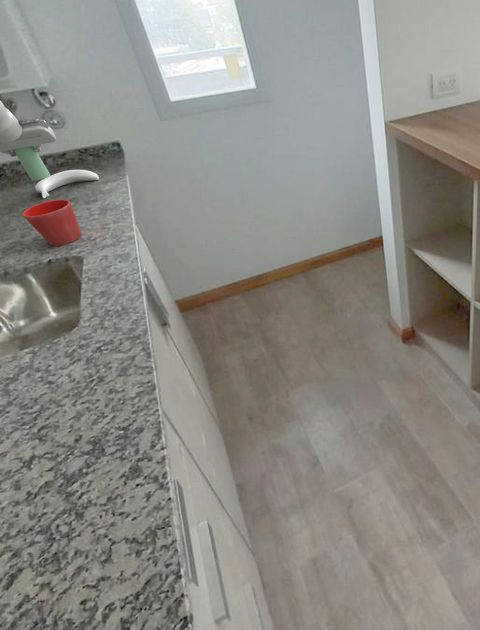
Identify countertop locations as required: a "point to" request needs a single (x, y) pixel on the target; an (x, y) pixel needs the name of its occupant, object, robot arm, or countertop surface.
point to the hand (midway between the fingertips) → (26, 152)
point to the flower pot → (54, 221)
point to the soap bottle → (32, 163)
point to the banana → (63, 180)
